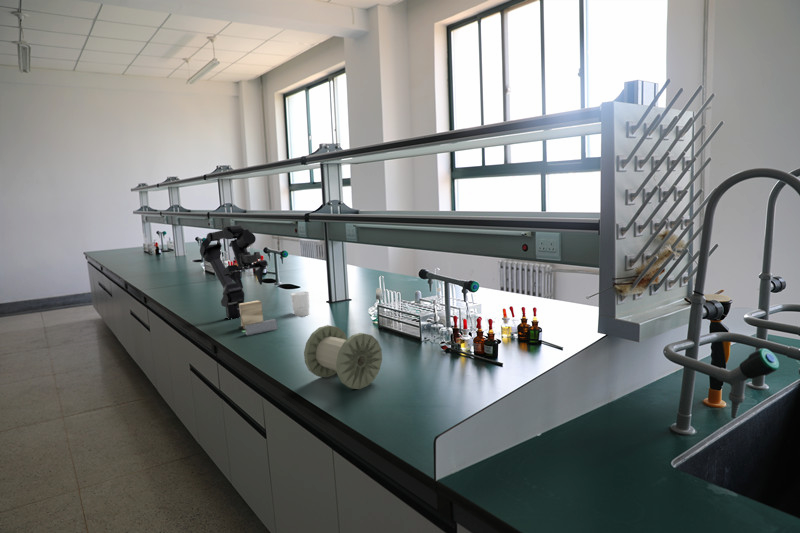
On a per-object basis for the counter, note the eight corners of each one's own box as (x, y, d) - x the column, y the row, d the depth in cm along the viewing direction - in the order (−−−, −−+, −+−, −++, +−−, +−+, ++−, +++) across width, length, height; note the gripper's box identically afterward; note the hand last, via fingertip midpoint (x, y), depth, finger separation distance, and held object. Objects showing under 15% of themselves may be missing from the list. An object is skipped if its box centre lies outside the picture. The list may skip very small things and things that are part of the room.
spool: (306, 382, 150) (301, 332, 148) (347, 367, 161) (343, 320, 158) (342, 396, 139) (337, 341, 136) (383, 379, 149) (379, 328, 147)
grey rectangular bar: (245, 334, 203) (244, 324, 203) (275, 328, 210) (274, 318, 209) (247, 335, 201) (246, 325, 200) (277, 329, 208) (276, 319, 207)
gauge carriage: (237, 328, 213) (234, 304, 212) (260, 323, 218) (258, 300, 217) (240, 330, 210) (237, 305, 208) (263, 325, 215) (261, 301, 214)
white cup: (301, 317, 229) (299, 295, 228) (289, 316, 234) (287, 294, 233) (314, 313, 235) (312, 292, 234) (302, 312, 240) (300, 290, 239)
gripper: (228, 248, 212) (240, 284, 210) (268, 243, 226) (279, 276, 224) (217, 258, 220) (228, 292, 218) (256, 252, 233) (267, 284, 231)
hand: (251, 286), depth 223 cm, fingers open, 9 cm apart
